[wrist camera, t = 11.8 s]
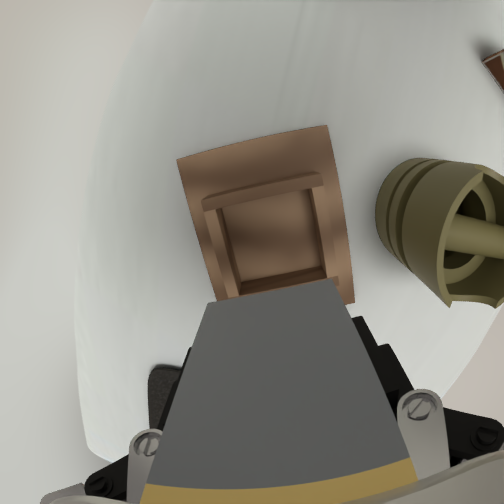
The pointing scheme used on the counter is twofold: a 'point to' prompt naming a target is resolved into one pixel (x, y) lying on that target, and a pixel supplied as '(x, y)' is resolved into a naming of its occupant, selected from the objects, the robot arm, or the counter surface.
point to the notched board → (269, 214)
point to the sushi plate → (159, 392)
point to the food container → (496, 67)
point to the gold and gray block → (278, 409)
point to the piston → (446, 227)
